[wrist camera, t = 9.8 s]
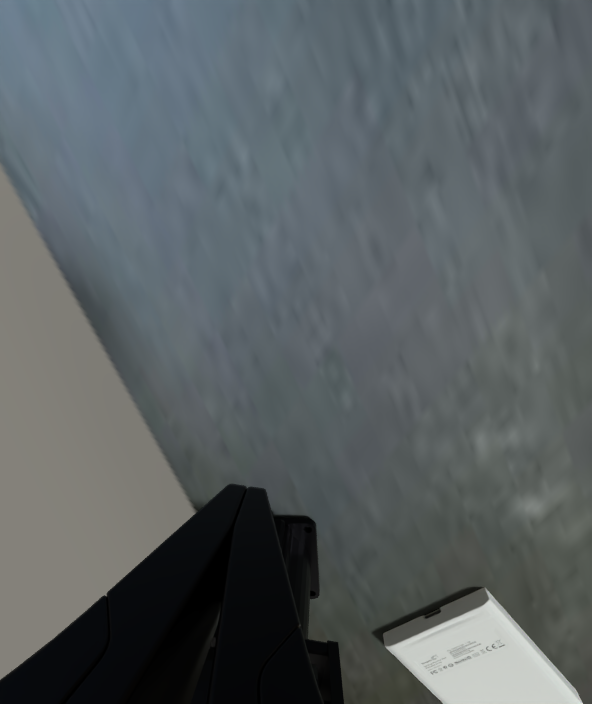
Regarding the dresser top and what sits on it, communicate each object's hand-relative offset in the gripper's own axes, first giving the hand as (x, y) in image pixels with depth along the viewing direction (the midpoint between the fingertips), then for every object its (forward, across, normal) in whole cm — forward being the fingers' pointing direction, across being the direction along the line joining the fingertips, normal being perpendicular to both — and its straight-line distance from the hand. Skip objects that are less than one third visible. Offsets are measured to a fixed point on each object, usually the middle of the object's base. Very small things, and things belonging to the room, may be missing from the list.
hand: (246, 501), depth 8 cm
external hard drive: (+13, -16, +22) cm, 30 cm away
